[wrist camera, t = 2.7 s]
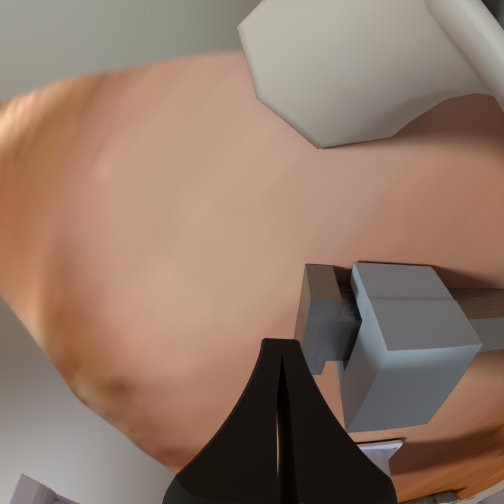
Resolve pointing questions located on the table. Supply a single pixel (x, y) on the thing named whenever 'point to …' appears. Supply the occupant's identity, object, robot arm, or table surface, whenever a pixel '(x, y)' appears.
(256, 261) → the table surface
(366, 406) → the block
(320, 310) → the rail
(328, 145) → the flask
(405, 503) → the brain slice
